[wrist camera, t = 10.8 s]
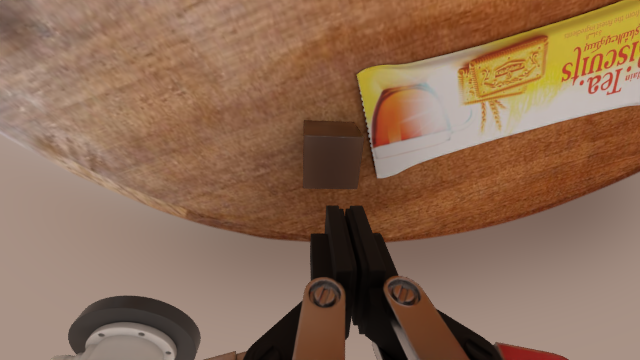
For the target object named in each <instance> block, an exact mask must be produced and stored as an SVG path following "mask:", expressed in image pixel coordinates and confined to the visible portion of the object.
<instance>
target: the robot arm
mask: <svg viewBox="0 0 640 360" xmlns="http://www.w3.org/2000/svg"><path fill="white" fill-rule="evenodd" d="M310 244H311V245H310V262H311V263H310V265H311V282H309V283H308V285H307V286H306V288H305V291H304V296H303V301H301V302H300V303H299V304H298V305H297V306H296V307H295V308H293V309H292V310H291V311H290V312H289V313H288V314H287V315H286V316H284V317H283V318H282V319H281V320H280V321H279V322H278V323H277V324H275V325H274V326H273V327H272V328H271V329H270V330H269V331H267V332H266V333H265V334H264V335H263V336H262V337H261V338H260V339H258V340H257V341H256V342H255V343H254V344H253V345H252V346H251V347H250V348H249V349H248V351H246V352H242V353H239V354H236V351H234V352H230V353H227V354H223V355H219V356H216V357H212V358H209V359H205V360H345V340H346V339H347V338H348V336H349V330H350V322H351V316H352V321H353V325H358V329H359V334H365V336H366V337H368V338H369V339H370V340H371V341H372V346H373V350H374V353H375V356H376V358H377V360H568V359H566V358H565V357H563V356H560V355H557V354H554V353H549V352H544V351H539V350H534V349H528V348H524V347H519V346H514V345H509V344H503V343H498V342H496V343H495V344H494V345H492V344H491V343H490V342H488V341H487V340H485V339H484V338H483V337H481V336H480V335H478V334H476V333H475V332H473V331H472V330H470V329H468V328H467V327H465V326H464V325H462V324H460V323H459V322H457V321H455V320H453V319H452V318H450V317H449V316H447V315H446V314H444V313H442V312H440V311H439V310H437V309H436V308H435V307H434V305H433V304H432V303H431V301H430V300H429V298H428V297H427V295H426V294H425V292H424V291H423V289H422V288H421V287H420V286H419V284H417V283H416V282H415V281H413V280H411V279H409V278H407V277H403V276H398V273H397V271H396V268H395V266H394V264H393V261H392V259H391V256H390V254H389V252H388V249H387V247H386V244H385V242H384V240H383V237H382V235H381V234H380V233H372V230H371V227H370V225H369V222H368V219H367V217H366V214H365V211H364V209H363V206H350V209H346V211H345V215H344V211H343V209H339V206H326V221H325V234H311V243H310ZM85 348H86V351H85V352H84V353H78V354H77V355H76V356H71V355H65V356H54V357H53V358H52V359H51V360H175V357H176V355H177V349H176V345H175V344H174V342H173V340H172V339H171V338H170V337H169V336H168V335H166V334H165V333H164V332H162V331H160V330H158V329H156V328H154V327H151V326H148V325H144V324H140V323H134V322H116V323H111V324H106V325H104V326H101V327H99V328H98V329H96V330H95V331H94V332H93V333H92V334H91V335H90V337H89V338H88V340H87V341H86V345H85Z"/></svg>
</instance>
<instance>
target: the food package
mask: <svg viewBox="0 0 640 360" xmlns="http://www.w3.org/2000/svg"><path fill="white" fill-rule="evenodd" d="M356 76H358V78H357V79H358V80H359V81H358V83H360V84H359V85H358V86H360V88H359V89H360V90H361V91H360V94H361V95H362V98H361V100H363V104H362V105H363V106H364V109H363V111H365V112H366V113H365V115H364V116H365V117H367V118H366V120H365V121H366V122H367V123H368V124H367V126H366V127H368V128H369V129H368V131H367V132H369V133H370V134H369V136H368V137H370V138H371V139H370V141H369V142H371V143H372V144H371V147H372V150H371V151H372V152H373V155H372V156H373V157H374V159H373V161H375V164H374V165H375V166H376V167H375V169H376V170H375V171H377V172H376V173H377V175H376V176H378V177H377V178H386V177H389V176H393V175H395V174H398V173H400V172H402V171H404V170H406V169H407V168H409V167H411V166H413V165H416V164H418V163H421V162H424V161H427V160H430V159H433V158H436V157H439V156H442V155H445V154H448V153H451V152H455V151H458V150H461V149H464V148H468V147H471V146H474V145H478V144H481V143H484V142H488V141H491V140H495V139H498V138H502V137H506V136H509V135H513V134H517V133H520V132H524V131H528V130H531V129H535V128H539V127H542V126H546V125H549V124H553V123H557V122H560V121H564V120H568V119H572V118H577V117H581V116H585V115H589V114H594V113H598V112H602V111H607V110H611V109H616V108H621V107H626V106H633V105H640V0H623V1H620V2H617V3H615V4H612V5H609V6H606V7H603V8H600V9H597V10H594V11H591V12H588V13H585V14H583V15H580V16H577V17H573V18H570V19H567V20H564V21H561V22H557V23H554V24H551V25H547V26H544V27H541V28H537V29H534V30H531V31H528V32H524V33H521V34H518V35H514V36H511V37H508V38H504V39H501V40H498V41H494V42H491V43H488V44H484V45H481V46H477V47H473V48H469V49H466V50H462V51H458V52H454V53H450V54H446V55H442V56H438V57H434V58H430V59H426V60H422V61H417V62H413V63H408V64H400V65H379V66H374V67H370V68H367V69H365V70H362V71H361V72H360V73H358V74H357V75H356Z"/></svg>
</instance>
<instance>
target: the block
mask: <svg viewBox="0 0 640 360" xmlns="http://www.w3.org/2000/svg"><path fill="white" fill-rule="evenodd" d="M363 141H364V137H363V135H362V134H361V132H360V131H359V129H358V128H357V127H356V125H355V124H354V122H334V121H304V146H303V188H307V189H357V188H358V180H359V172H360V164H361V156H362V149H363Z"/></svg>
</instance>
